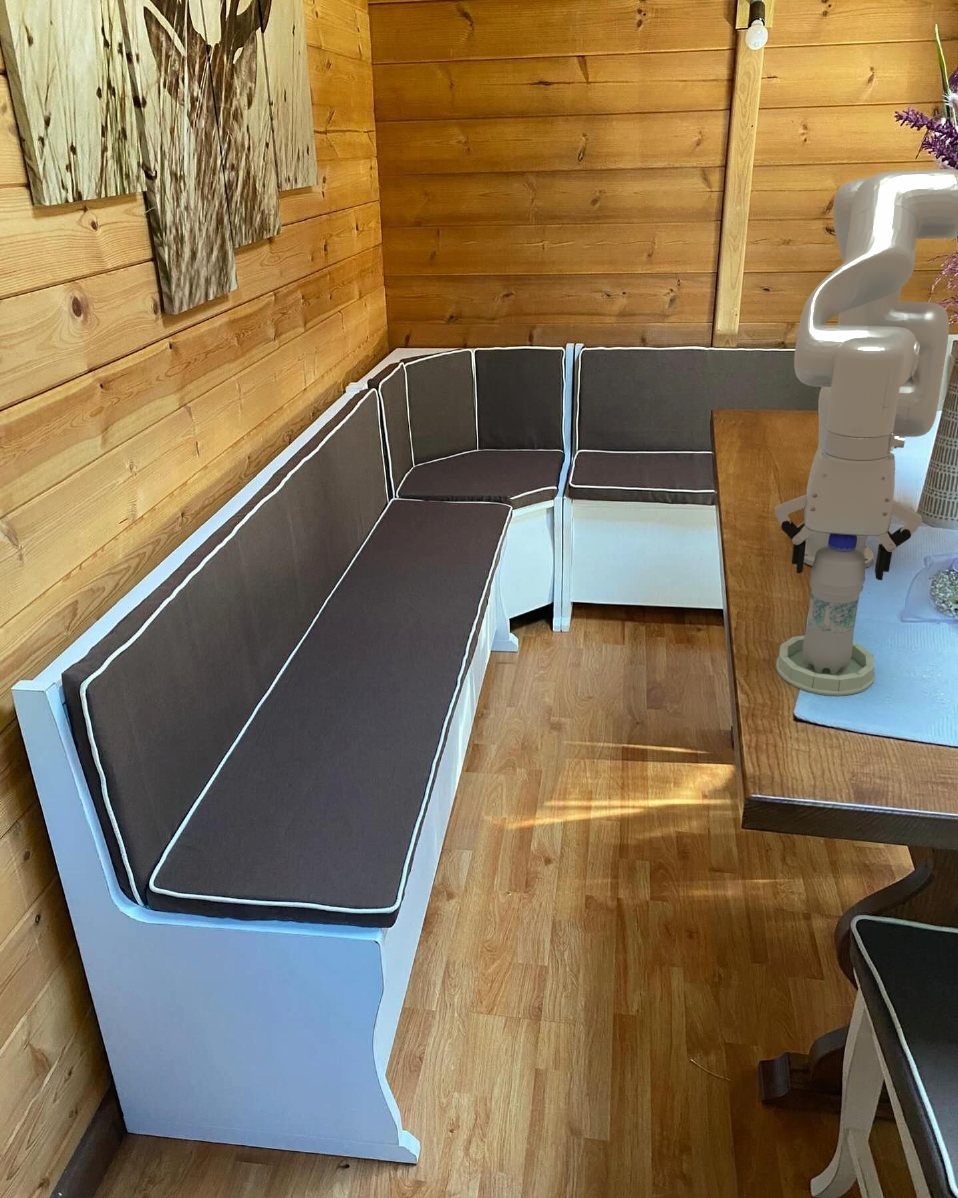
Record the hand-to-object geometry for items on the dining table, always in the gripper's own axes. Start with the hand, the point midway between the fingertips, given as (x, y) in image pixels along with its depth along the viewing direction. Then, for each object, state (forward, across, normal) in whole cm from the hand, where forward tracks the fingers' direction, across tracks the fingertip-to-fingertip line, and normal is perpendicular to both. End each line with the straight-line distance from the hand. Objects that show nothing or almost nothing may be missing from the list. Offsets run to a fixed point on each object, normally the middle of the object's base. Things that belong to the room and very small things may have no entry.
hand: (838, 572), depth 116 cm
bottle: (+14, 0, 0) cm, 14 cm away
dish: (+15, 0, 0) cm, 15 cm away
